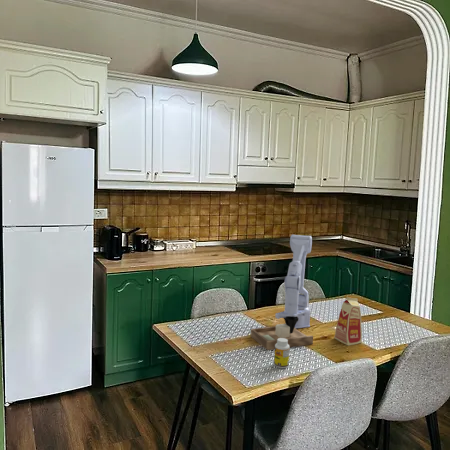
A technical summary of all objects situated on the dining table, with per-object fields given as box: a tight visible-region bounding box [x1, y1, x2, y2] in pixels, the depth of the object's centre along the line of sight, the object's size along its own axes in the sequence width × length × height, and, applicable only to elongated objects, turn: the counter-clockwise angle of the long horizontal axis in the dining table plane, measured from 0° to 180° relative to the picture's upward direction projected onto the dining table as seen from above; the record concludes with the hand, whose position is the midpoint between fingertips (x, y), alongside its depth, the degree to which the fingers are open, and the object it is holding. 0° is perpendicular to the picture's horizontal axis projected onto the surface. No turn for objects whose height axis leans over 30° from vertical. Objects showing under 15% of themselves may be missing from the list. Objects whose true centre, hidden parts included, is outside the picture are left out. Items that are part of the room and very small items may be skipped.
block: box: [275, 323, 290, 338], centre depth 192 cm, size 4×4×4 cm
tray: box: [250, 325, 314, 351], centre depth 192 cm, size 22×16×4 cm
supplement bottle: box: [273, 338, 291, 369], centre depth 165 cm, size 6×6×10 cm
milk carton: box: [333, 296, 363, 346], centre depth 194 cm, size 9×9×20 cm
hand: (290, 332), depth 193 cm, fingers closed
